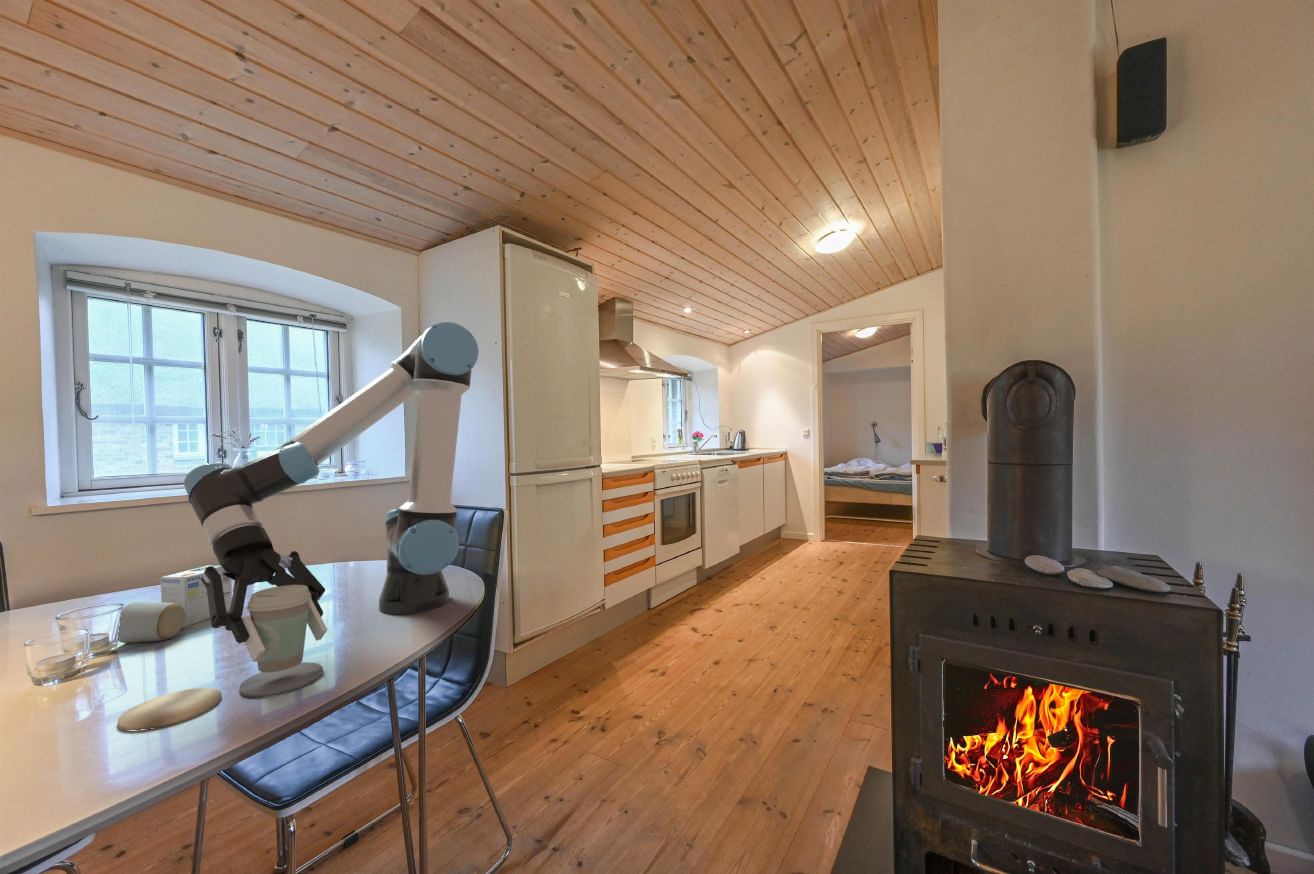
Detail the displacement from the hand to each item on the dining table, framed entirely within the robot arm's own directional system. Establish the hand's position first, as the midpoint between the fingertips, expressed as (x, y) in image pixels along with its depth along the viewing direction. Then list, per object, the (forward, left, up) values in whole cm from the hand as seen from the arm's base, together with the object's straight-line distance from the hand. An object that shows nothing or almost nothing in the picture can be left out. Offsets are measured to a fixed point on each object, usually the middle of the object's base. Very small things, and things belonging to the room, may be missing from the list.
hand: (292, 645), depth 83 cm
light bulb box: (+19, -53, -7) cm, 57 cm away
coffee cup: (+2, -3, -4) cm, 5 cm away
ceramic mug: (+24, -42, -7) cm, 49 cm away
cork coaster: (+14, -1, -6) cm, 16 cm away
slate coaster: (+1, -3, -6) cm, 7 cm away
